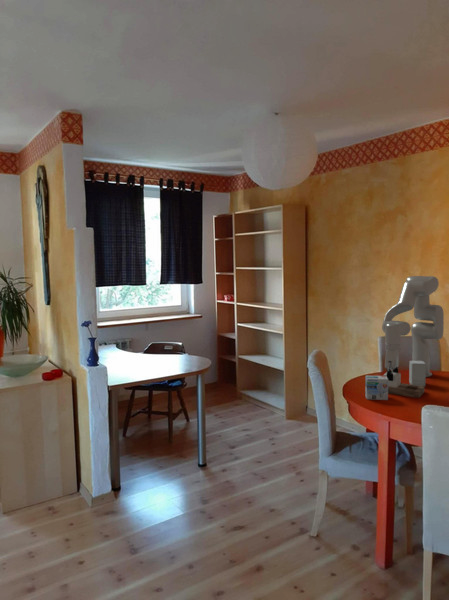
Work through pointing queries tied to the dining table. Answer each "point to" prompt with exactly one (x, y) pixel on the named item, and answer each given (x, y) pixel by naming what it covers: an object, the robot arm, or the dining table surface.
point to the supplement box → (417, 373)
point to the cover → (394, 380)
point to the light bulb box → (376, 387)
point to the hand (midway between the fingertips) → (392, 378)
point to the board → (407, 390)
